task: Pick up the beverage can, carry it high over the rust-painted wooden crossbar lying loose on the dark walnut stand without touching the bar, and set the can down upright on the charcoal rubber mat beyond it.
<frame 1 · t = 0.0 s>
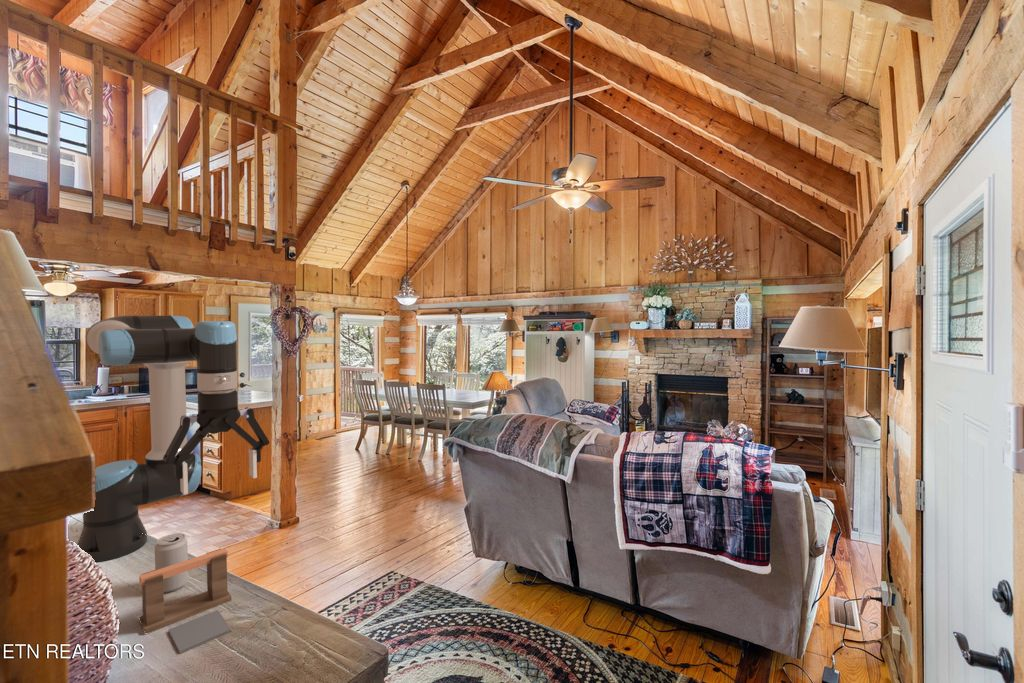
hand: (220, 484, 106), 28 cm above the table, tool pointing down, fingers open, 13 cm apart
rubber mat: (200, 631, 98), on the table
crossbar: (185, 569, 104), point 9 cm above the table, touching walnut stand
walnut stand: (187, 610, 105), on the table
beverage can: (172, 587, 114), on the table
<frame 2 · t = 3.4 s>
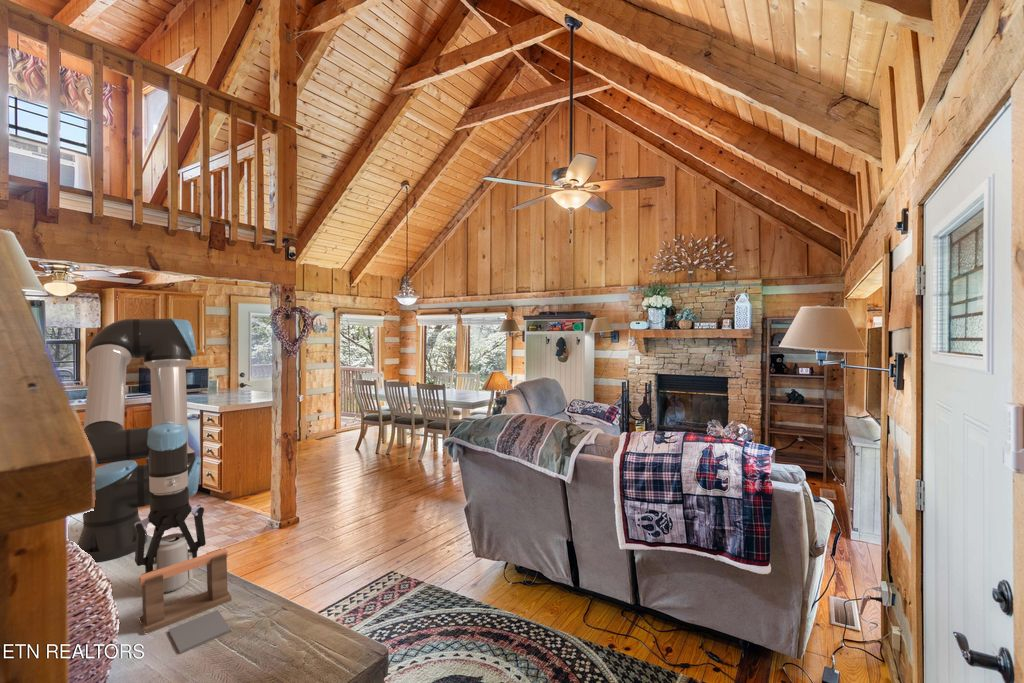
hand: (172, 582, 114), 1 cm above the table, tool pointing down, fingers closed on beverage can, 6 cm apart
beverage can: (172, 587, 114), on the table, touching gripper
everything else where it was.
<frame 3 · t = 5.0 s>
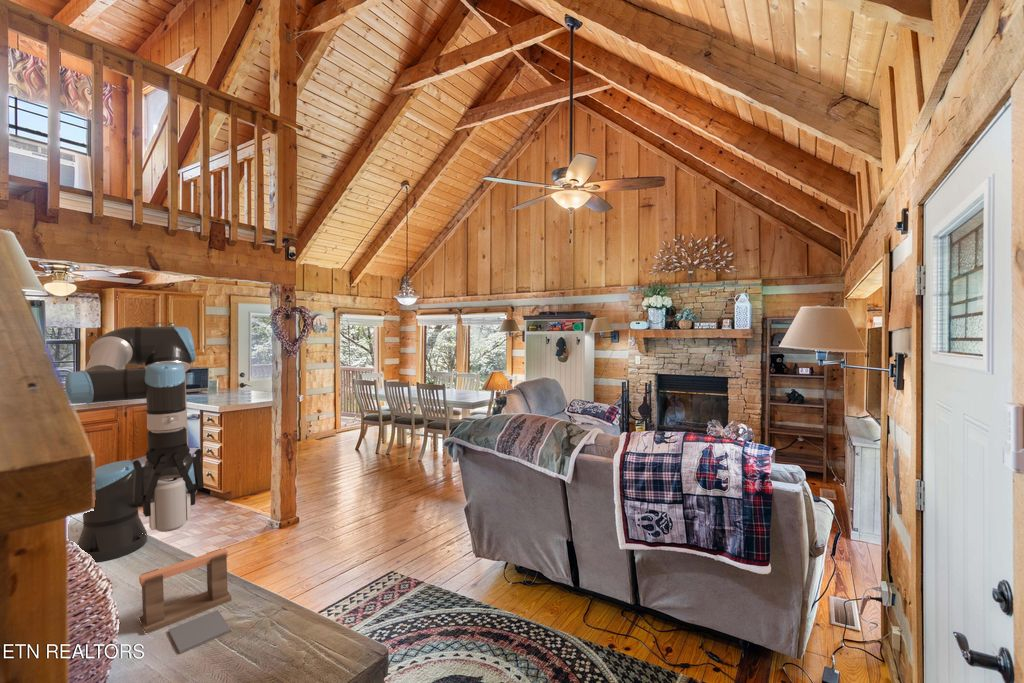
hand: (170, 523, 113), 16 cm above the table, tool pointing down, fingers closed on beverage can, 6 cm apart
beverage can: (170, 527, 113), point 15 cm above the table, touching gripper
everything else where it was.
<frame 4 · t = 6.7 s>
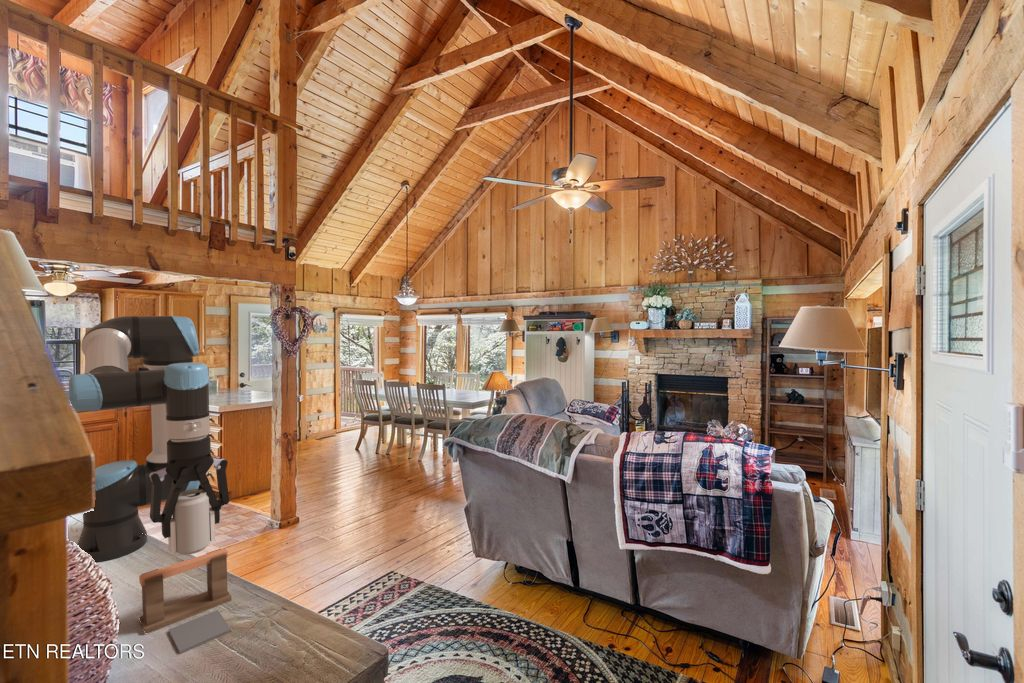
hand: (192, 544, 99), 18 cm above the table, tool pointing down, fingers closed on beverage can, 6 cm apart
beverage can: (192, 549, 99), point 16 cm above the table, touching gripper
everything else where it was.
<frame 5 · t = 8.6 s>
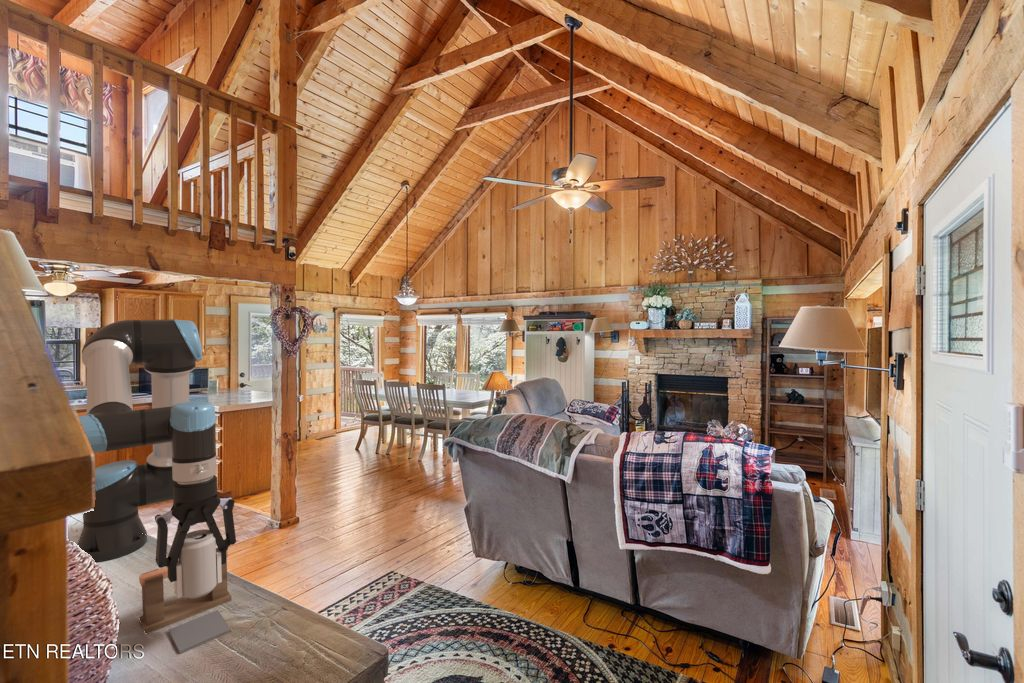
hand: (198, 586, 97), 10 cm above the table, tool pointing down, fingers closed on beverage can, 6 cm apart
beverage can: (198, 592, 98), point 9 cm above the table, touching gripper
everything else where it was.
when the fingers open (3 cm above the table, at t = 10.2 s): beverage can drops 1 cm, resting on rubber mat.
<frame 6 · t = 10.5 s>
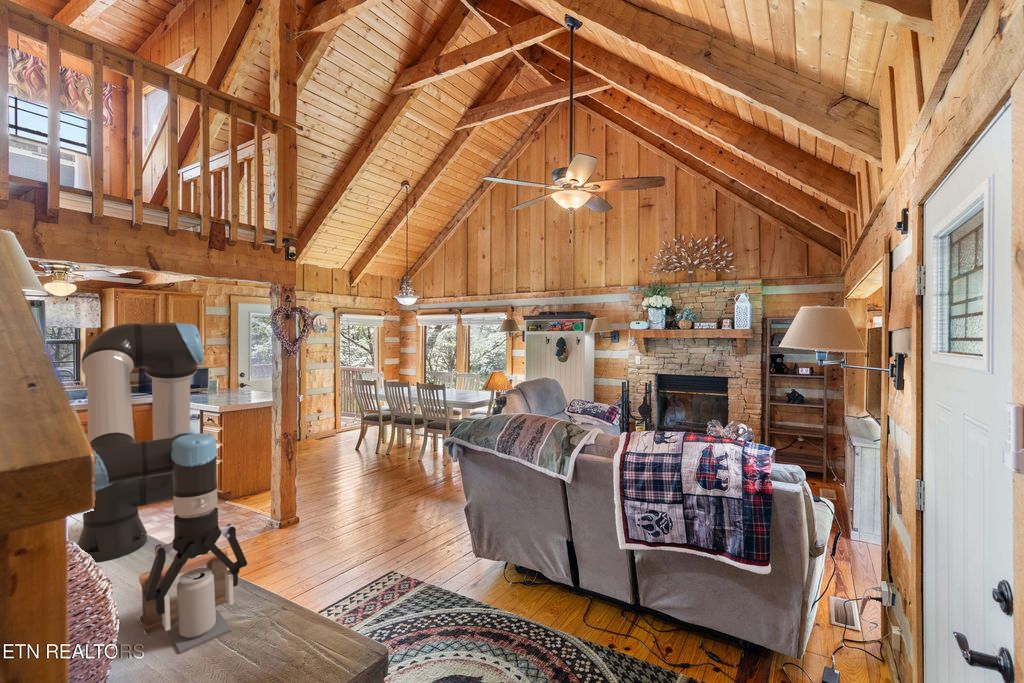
hand: (199, 613, 98), 4 cm above the table, tool pointing down, fingers open, 10 cm apart
beverage can: (198, 630, 98), resting on rubber mat
everything else where it was.
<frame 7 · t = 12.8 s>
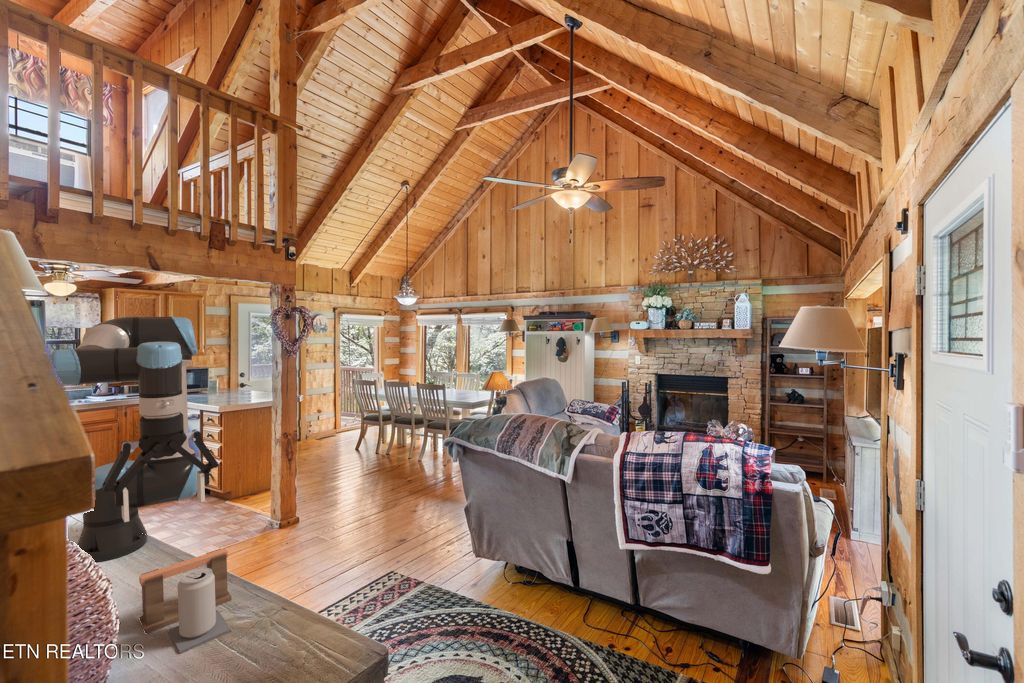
hand: (165, 509, 103), 23 cm above the table, tool pointing down, fingers open, 13 cm apart
nothing on the table moved.
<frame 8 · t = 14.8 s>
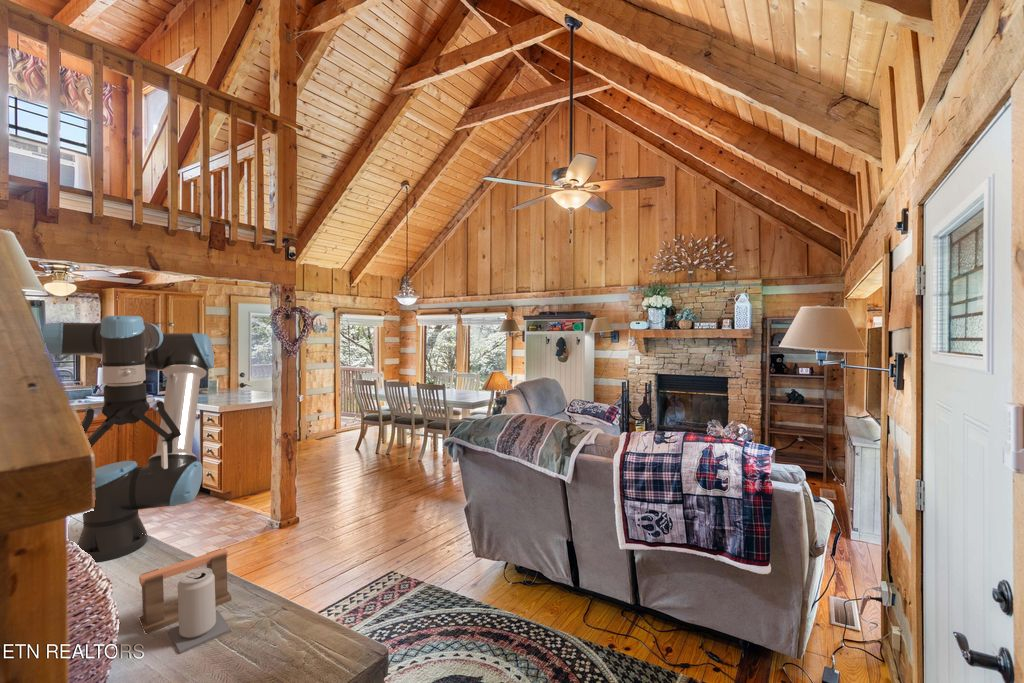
hand: (128, 474, 109), 29 cm above the table, tool pointing down, fingers open, 13 cm apart
nothing on the table moved.
at the end: beverage can 0.3 cm off-centre on the rubber mat, point 0.3 cm above the rubber mat's base; beverage can tilted 0°; crossbar moved 0.1 cm from its start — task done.
